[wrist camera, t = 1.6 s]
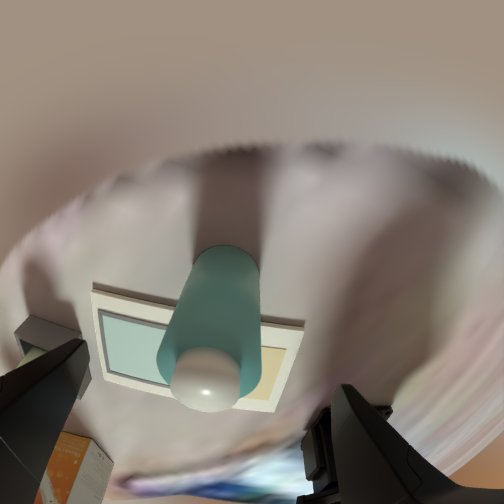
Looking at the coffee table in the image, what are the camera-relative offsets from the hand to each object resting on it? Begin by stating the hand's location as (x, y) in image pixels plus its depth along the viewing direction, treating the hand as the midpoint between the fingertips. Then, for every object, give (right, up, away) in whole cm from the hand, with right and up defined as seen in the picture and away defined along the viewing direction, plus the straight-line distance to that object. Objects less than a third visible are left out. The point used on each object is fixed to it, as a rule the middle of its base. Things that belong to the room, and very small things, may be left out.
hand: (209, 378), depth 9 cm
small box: (-20, -19, +16) cm, 32 cm away
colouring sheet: (-3, -3, +9) cm, 10 cm away
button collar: (-13, -3, +9) cm, 17 cm away
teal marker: (0, +3, +7) cm, 7 cm away
